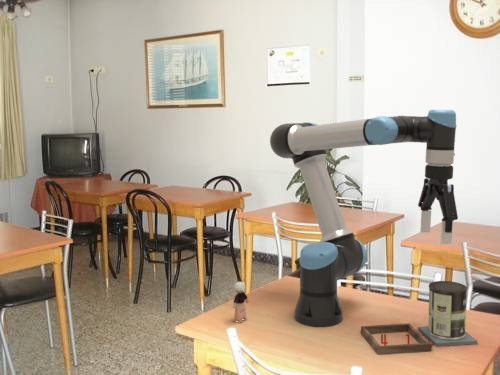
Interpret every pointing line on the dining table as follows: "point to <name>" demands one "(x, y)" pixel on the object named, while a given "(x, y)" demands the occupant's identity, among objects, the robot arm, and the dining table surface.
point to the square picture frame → (393, 349)
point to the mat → (442, 342)
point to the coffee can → (447, 310)
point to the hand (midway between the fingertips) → (435, 237)
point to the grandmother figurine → (240, 302)
